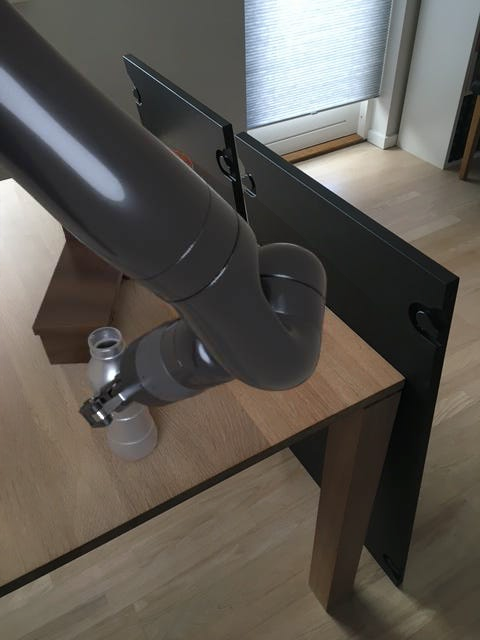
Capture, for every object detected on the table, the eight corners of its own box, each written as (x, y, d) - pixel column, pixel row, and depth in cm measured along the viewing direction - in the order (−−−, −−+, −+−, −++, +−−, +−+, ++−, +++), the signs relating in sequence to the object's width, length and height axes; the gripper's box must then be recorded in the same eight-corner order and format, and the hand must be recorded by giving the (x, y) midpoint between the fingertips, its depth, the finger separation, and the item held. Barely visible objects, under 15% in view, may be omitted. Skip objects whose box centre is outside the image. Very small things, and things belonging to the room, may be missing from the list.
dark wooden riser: (117, 362, 83) (92, 268, 71) (47, 366, 83) (9, 272, 71) (136, 270, 101) (118, 182, 89) (78, 272, 101) (52, 185, 89)
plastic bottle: (132, 419, 75) (102, 310, 61) (170, 440, 72) (148, 331, 59) (100, 453, 71) (60, 344, 57) (139, 476, 68) (107, 368, 55)
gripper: (196, 292, 56) (132, 332, 69) (92, 378, 47) (43, 405, 60) (239, 348, 57) (169, 377, 70) (146, 443, 48) (86, 455, 62)
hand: (111, 390), depth 65 cm, fingers closed on plastic bottle, 6 cm apart
